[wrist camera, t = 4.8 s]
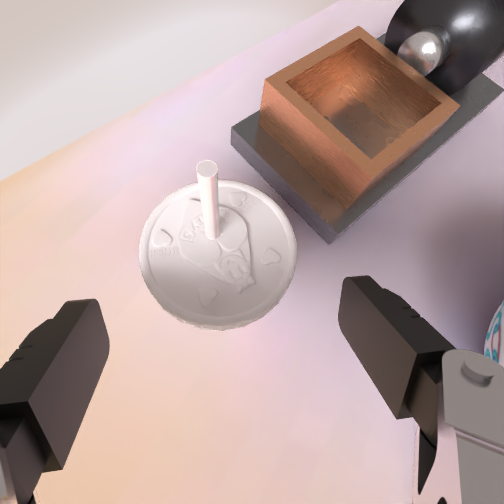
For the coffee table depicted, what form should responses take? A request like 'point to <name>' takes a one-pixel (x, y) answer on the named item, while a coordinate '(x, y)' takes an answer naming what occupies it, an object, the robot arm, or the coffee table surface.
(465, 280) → the coffee table surface
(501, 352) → the chinaware
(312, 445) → the coffee table surface
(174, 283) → the smoothie
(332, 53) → the motor mount
